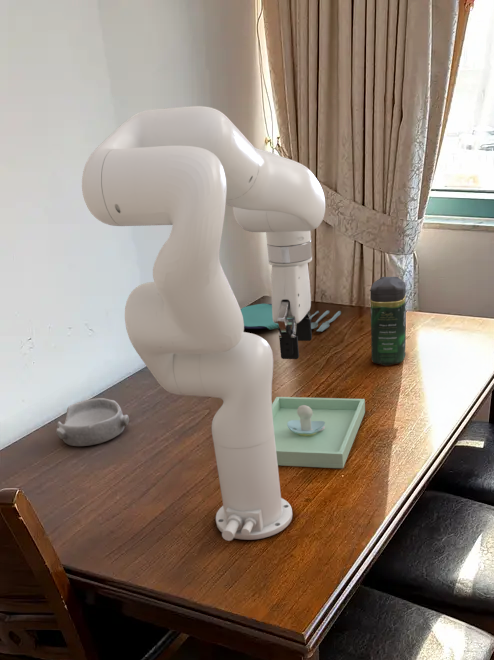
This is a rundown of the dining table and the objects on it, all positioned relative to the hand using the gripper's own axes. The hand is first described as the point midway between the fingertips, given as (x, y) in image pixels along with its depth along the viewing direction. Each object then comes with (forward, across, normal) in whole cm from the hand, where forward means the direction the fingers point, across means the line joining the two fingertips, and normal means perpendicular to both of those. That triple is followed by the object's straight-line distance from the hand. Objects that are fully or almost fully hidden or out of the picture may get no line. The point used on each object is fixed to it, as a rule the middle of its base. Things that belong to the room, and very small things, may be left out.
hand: (296, 349), depth 141 cm
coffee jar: (+17, -42, +10) cm, 47 cm away
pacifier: (+18, -2, 0) cm, 18 cm away
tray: (+18, -1, +1) cm, 18 cm away
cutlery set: (+17, -67, -23) cm, 73 cm away
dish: (+18, +1, -44) cm, 48 cm away
